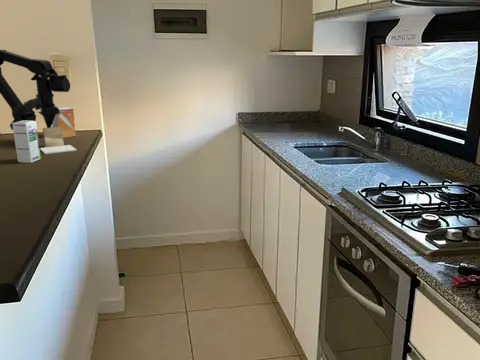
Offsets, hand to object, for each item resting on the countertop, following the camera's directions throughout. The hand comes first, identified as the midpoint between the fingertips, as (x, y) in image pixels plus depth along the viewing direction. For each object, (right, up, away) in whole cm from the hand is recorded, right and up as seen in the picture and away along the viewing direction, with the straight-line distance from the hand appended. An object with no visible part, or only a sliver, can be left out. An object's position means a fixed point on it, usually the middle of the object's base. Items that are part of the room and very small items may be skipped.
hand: (48, 128), depth 196 cm
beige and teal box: (+4, -8, -4) cm, 10 cm away
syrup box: (+4, -15, -27) cm, 31 cm away
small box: (0, -2, +18) cm, 18 cm away
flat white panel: (+8, -10, -9) cm, 15 cm away
